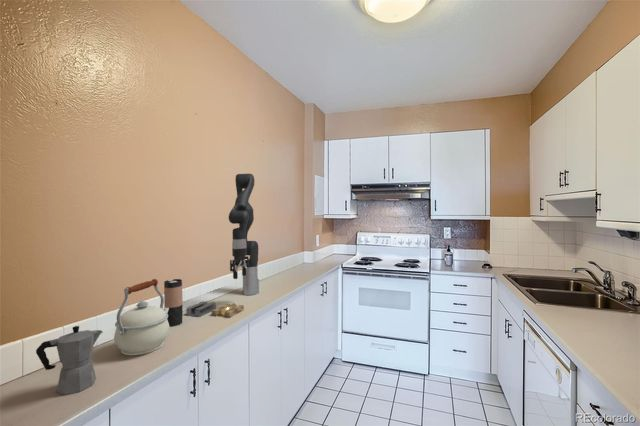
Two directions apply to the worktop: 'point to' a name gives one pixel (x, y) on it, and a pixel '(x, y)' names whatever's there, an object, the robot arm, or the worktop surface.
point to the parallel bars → (228, 313)
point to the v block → (200, 309)
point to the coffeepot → (72, 359)
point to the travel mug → (173, 301)
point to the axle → (226, 309)
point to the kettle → (141, 324)
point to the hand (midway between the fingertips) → (239, 277)
